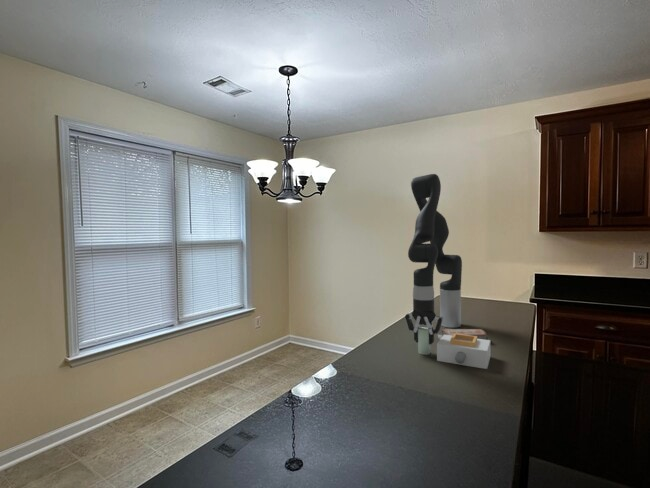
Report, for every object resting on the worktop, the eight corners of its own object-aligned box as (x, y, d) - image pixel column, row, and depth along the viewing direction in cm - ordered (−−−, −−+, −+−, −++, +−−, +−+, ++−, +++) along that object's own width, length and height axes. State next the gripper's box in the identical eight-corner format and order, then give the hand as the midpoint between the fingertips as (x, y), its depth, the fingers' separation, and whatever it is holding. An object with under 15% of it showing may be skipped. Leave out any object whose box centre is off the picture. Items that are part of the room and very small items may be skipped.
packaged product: (480, 326, 149) (490, 333, 139) (480, 338, 149) (490, 346, 139) (437, 327, 150) (443, 334, 140) (437, 338, 150) (444, 346, 140)
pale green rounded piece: (419, 349, 135) (419, 326, 135) (431, 351, 133) (431, 328, 133) (416, 353, 131) (416, 329, 131) (428, 355, 129) (428, 331, 129)
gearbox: (444, 350, 135) (443, 330, 134) (490, 356, 127) (490, 336, 126) (435, 363, 122) (434, 342, 121) (486, 372, 114) (486, 349, 113)
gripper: (445, 296, 131) (445, 342, 132) (407, 294, 138) (408, 337, 139) (441, 300, 124) (441, 348, 125) (401, 297, 132) (402, 343, 132)
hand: (423, 342), depth 132 cm, fingers closed on pale green rounded piece, 4 cm apart
